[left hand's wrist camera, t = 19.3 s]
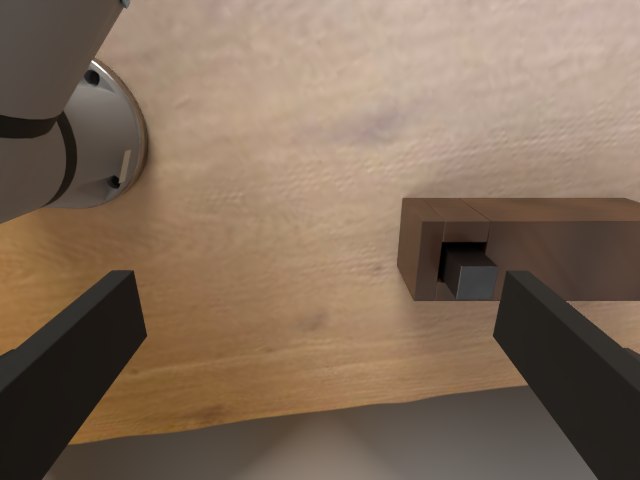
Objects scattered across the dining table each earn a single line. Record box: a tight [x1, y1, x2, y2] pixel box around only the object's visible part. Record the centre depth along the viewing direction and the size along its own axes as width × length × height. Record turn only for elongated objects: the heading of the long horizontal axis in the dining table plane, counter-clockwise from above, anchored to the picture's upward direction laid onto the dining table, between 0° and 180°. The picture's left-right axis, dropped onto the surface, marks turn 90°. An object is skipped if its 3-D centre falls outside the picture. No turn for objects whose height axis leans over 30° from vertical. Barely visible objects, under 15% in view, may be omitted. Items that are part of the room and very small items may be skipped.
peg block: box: [397, 198, 640, 301], centre depth 37 cm, size 24×8×8 cm, turn 90°
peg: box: [438, 242, 498, 299], centre depth 35 cm, size 3×3×12 cm
